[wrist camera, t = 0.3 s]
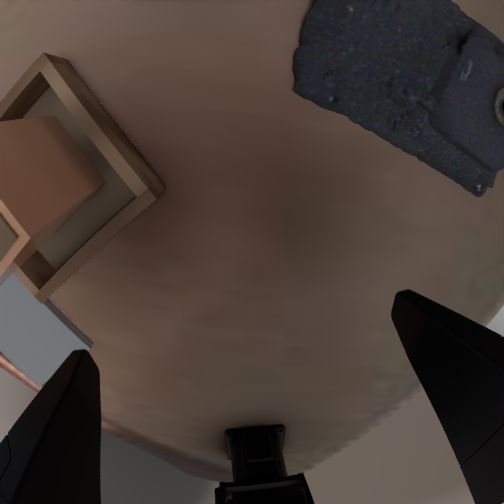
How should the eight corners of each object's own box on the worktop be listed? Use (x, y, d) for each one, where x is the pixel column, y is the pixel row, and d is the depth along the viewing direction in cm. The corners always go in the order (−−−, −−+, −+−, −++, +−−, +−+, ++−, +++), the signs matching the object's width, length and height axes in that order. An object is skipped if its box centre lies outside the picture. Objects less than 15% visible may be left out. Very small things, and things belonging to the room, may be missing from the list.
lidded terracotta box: (106, 181, 19) (28, 240, 10) (52, 235, 20) (-26, 313, 11) (55, 116, 17) (-48, 129, 7) (6, 175, 18) (-90, 222, 8)
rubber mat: (93, 343, 25) (90, 348, 24) (41, 381, 26) (39, 386, 25) (12, 258, 21) (7, 263, 20) (-27, 314, 22) (-30, 318, 21)
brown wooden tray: (165, 186, 20) (156, 199, 17) (59, 280, 22) (41, 304, 19) (67, 59, 16) (43, 52, 12) (-25, 173, 17) (-51, 184, 14)
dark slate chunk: (336, -66, 14) (360, -93, 9) (523, 72, 19) (557, 75, 14) (271, 95, 19) (287, 89, 15) (485, 205, 24) (519, 222, 20)
